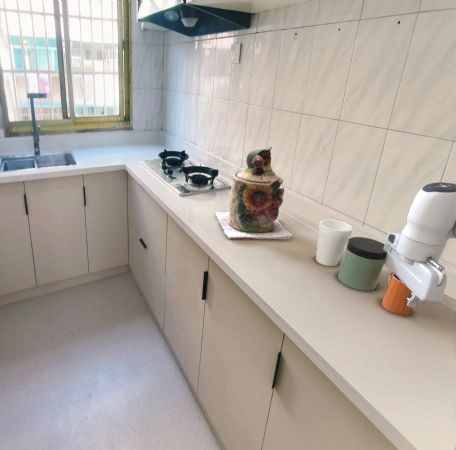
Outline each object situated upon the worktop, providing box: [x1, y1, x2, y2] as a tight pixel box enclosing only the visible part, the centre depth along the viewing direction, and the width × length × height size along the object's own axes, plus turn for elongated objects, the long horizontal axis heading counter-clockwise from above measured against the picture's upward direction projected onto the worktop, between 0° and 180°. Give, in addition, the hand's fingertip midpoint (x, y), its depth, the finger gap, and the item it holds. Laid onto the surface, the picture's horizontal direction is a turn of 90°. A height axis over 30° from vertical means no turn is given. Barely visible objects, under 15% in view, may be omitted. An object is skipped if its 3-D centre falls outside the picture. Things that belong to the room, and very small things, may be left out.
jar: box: [337, 246, 385, 292], centre depth 98 cm, size 10×10×12 cm
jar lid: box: [346, 236, 387, 259], centre depth 96 cm, size 10×10×2 cm
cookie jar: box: [215, 145, 293, 240], centre depth 128 cm, size 25×25×32 cm
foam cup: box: [315, 218, 354, 267], centre depth 108 cm, size 10×9×13 cm
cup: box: [381, 273, 414, 316], centre depth 87 cm, size 6×6×9 cm
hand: (400, 295), depth 88 cm, fingers open, 7 cm apart
